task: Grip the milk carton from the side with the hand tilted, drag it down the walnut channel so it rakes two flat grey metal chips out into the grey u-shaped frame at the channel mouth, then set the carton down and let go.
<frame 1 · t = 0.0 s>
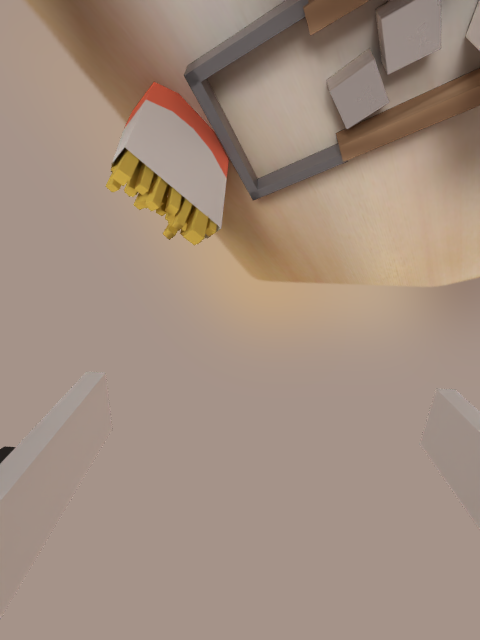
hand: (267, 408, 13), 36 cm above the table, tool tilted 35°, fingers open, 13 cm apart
grey u-shaped frame: (275, 110, 36), on the table
french fries container: (185, 126, 38), on the table
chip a: (403, 23, 30), on the table
channel: (423, 33, 30), on the table
chip b: (355, 84, 34), on the table
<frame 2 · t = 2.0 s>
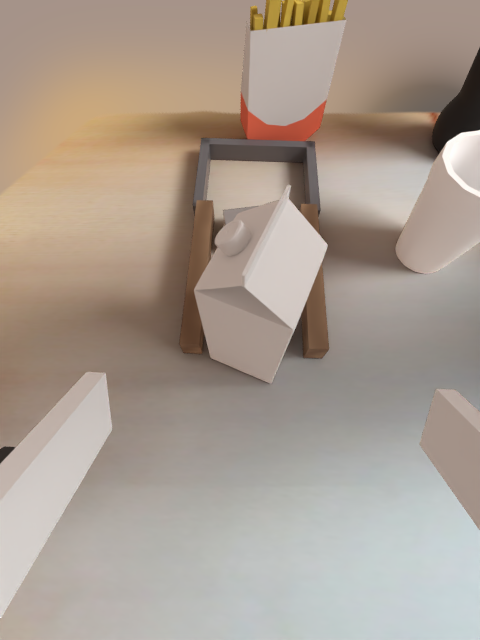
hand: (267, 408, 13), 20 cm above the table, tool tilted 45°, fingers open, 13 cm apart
grey u-shaped frame: (256, 188, 45), on the table
milk carton: (252, 343, 36), on the table
french fries container: (277, 140, 49), on the table
channel: (254, 280, 39), on the table
chip b: (243, 237, 42), on the table
cola bottle: (453, 147, 49), on the table
foam cup: (419, 253, 41), on the table
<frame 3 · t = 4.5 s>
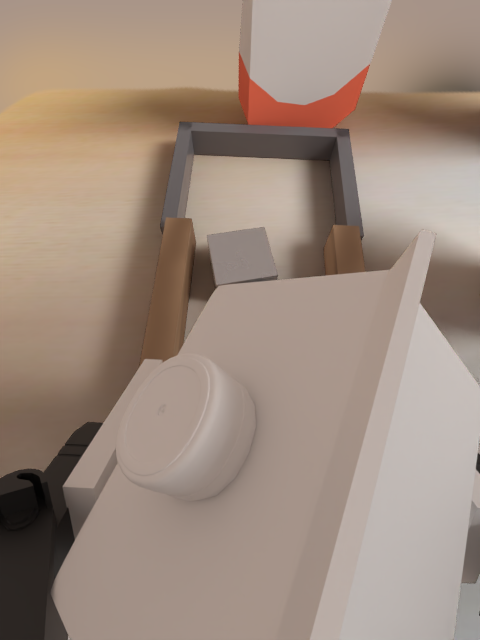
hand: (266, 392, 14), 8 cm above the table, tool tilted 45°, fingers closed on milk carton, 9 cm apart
grey u-shaped frame: (260, 197, 30), on the table
milk carton: (253, 469, 21), on the table, touching gripper
french fries container: (291, 128, 34), on the table
channel: (257, 350, 24), on the table
chip b: (240, 276, 27), on the table
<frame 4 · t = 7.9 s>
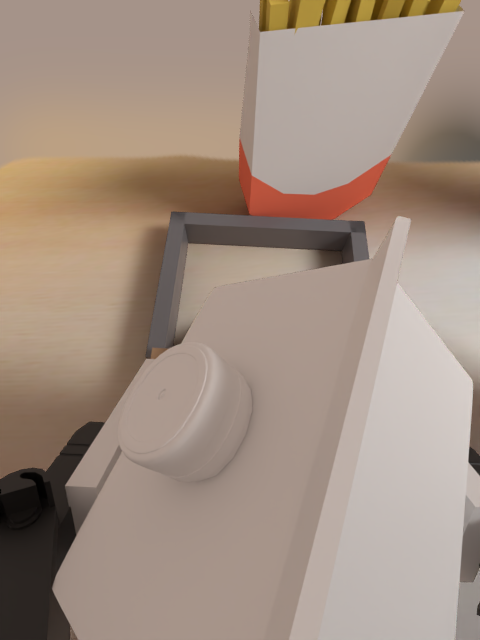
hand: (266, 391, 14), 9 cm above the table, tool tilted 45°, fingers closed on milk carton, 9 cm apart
grey u-shaped frame: (263, 300, 26), on the table
milk carton: (254, 482, 20), point 1 cm above the table, touching gripper
french fries container: (298, 207, 31), on the table
when the fingers open (9 cm above the table, at t = 10.1 s): milk carton stays where it is, on the table.
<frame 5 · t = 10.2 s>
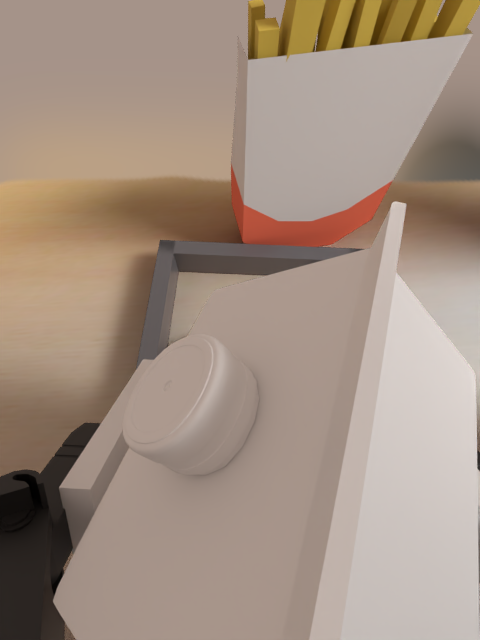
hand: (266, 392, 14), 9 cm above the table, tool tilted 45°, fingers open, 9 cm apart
grey u-shaped frame: (258, 334, 25), on the table
milk carton: (257, 498, 20), on the table
french fries container: (295, 231, 29), on the table
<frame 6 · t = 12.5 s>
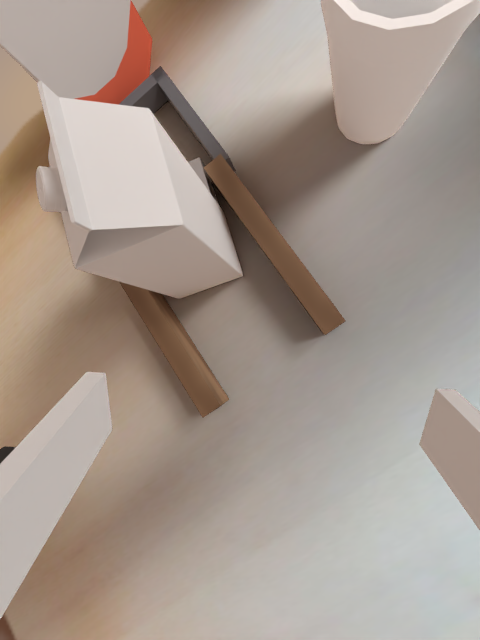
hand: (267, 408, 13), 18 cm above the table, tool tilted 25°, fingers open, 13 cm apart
grey u-shaped frame: (145, 177, 35), on the table
milk carton: (202, 256, 33), on the table
french fries container: (121, 93, 36), on the table
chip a: (195, 200, 33), on the table
channel: (221, 288, 32), on the table
foam cup: (370, 112, 30), on the table
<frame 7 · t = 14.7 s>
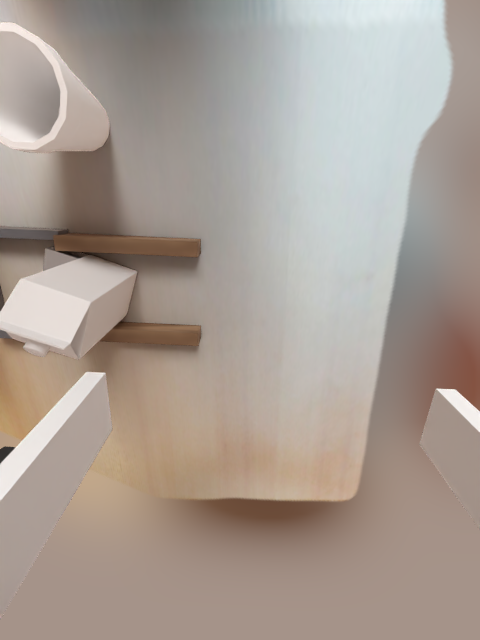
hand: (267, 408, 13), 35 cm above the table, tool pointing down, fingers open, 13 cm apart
grey u-shaped frame: (35, 283, 47), on the table
milk carton: (109, 284, 47), on the table
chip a: (71, 265, 47), on the table
channel: (136, 288, 47), on the table
foam cup: (85, 123, 40), on the table
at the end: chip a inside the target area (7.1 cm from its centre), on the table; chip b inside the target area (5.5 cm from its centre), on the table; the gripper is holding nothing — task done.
